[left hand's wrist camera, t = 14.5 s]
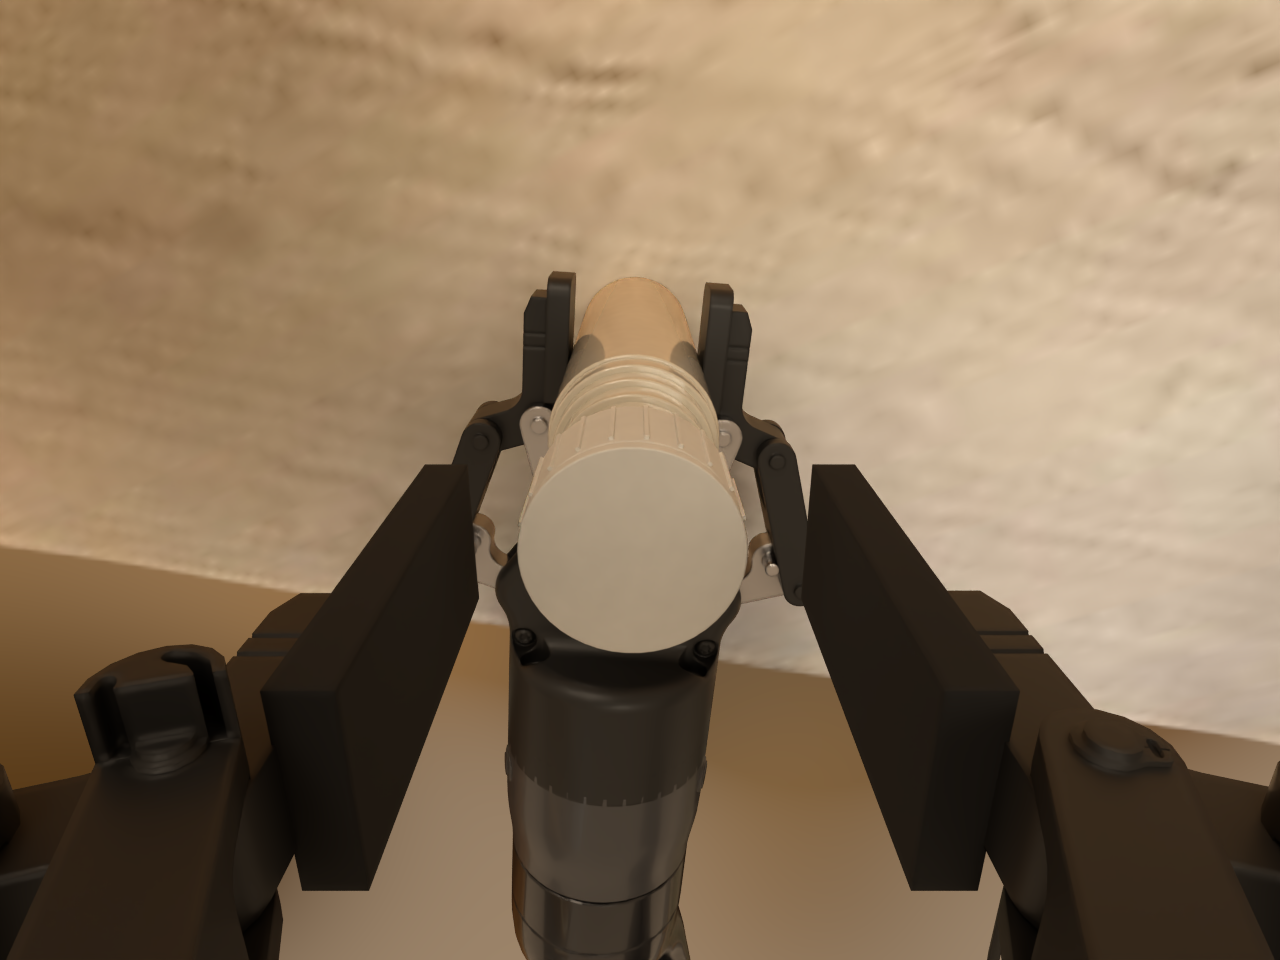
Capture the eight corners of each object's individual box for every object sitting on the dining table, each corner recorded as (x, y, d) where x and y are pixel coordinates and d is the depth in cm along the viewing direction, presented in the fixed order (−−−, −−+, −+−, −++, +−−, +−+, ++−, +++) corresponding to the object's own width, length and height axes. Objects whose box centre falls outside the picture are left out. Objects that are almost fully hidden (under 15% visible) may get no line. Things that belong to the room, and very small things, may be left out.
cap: (517, 571, 16) (499, 636, 14) (547, 383, 14) (531, 423, 12) (709, 604, 16) (719, 672, 14) (757, 423, 15) (777, 468, 13)
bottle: (575, 370, 32) (499, 626, 14) (592, 267, 30) (531, 411, 13) (674, 389, 32) (720, 663, 14) (696, 288, 30) (778, 457, 13)
